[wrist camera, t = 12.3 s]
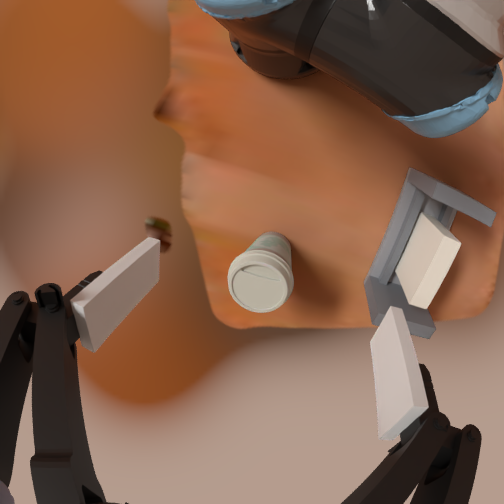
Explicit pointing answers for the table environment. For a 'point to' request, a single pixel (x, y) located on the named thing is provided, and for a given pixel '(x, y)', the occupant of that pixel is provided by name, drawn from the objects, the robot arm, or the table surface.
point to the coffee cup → (262, 274)
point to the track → (400, 226)
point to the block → (425, 259)
